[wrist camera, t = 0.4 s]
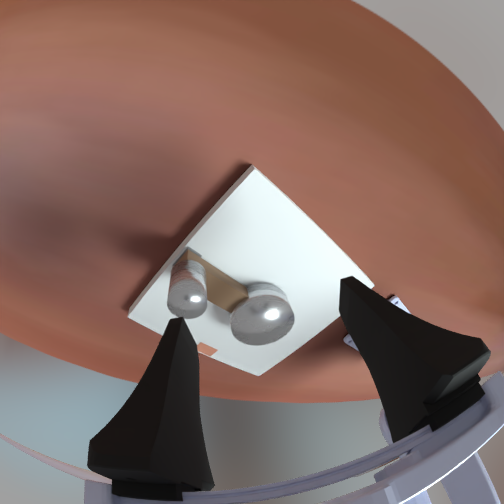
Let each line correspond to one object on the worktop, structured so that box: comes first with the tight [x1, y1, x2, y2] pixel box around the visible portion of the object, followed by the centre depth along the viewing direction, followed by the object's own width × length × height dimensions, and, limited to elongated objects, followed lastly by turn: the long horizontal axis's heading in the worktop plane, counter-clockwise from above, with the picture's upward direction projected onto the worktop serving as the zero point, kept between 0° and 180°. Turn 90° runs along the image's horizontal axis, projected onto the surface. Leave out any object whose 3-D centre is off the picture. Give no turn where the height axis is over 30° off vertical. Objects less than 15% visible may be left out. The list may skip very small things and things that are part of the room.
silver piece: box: [167, 249, 295, 346], centre depth 19 cm, size 11×5×4 cm, turn 46°
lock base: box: [128, 165, 375, 376], centre depth 23 cm, size 16×16×1 cm
